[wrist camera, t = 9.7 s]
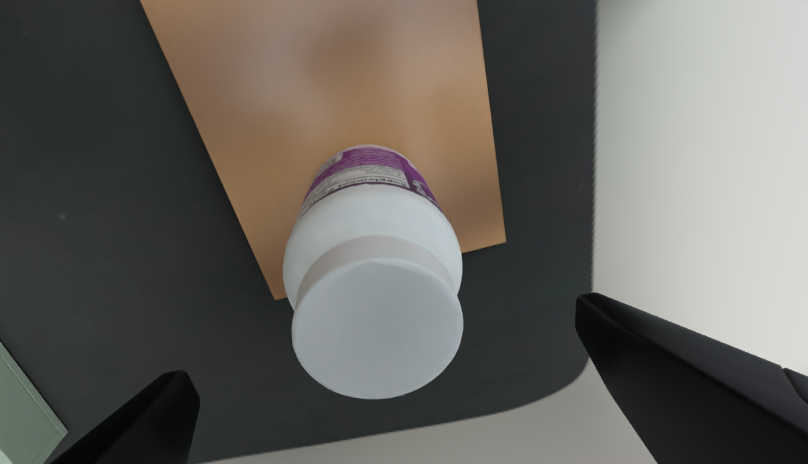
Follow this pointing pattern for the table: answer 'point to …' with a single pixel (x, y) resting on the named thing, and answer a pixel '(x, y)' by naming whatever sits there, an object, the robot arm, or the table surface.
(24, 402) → the tray
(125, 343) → the table surface
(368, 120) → the wooden board
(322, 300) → the pill bottle
